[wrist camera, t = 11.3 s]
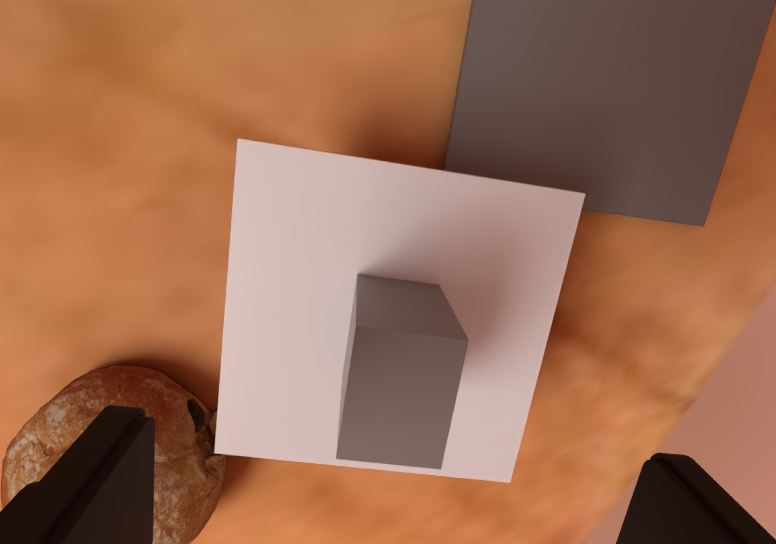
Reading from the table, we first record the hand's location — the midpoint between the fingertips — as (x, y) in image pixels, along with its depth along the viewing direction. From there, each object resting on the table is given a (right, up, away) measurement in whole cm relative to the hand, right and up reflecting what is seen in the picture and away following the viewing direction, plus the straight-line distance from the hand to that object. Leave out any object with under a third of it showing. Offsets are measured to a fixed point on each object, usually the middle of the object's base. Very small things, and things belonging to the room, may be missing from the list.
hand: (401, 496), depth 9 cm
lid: (0, +2, +10) cm, 10 cm away
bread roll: (-14, -5, +17) cm, 23 cm away
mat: (+10, +14, +13) cm, 21 cm away
